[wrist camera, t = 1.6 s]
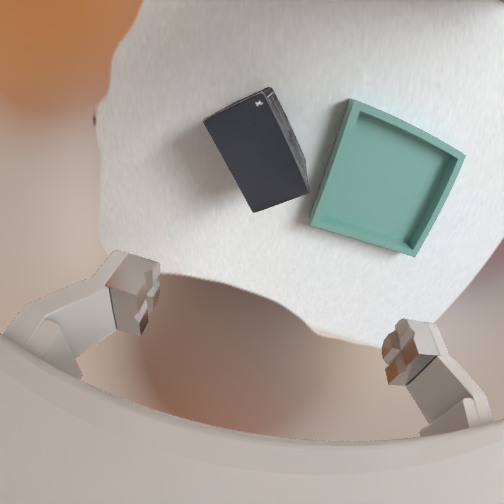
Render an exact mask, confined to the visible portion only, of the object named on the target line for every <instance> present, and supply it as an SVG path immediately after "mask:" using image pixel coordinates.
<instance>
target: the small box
mask: <svg viewBox="0 0 504 504" xmlns="http://www.w3.org/2000/svg"><path fill="white" fill-rule="evenodd" d="M203 123H204V125H205V126H206V128H207V130H208V132H209V133H210V135H211V137H212V139H213V140H214V142H215V144H216V146H217V148H218V149H219V151H220V153H221V155H222V157H223V158H224V160H225V162H226V164H227V166H228V167H229V169H230V171H231V173H232V175H233V177H234V178H235V180H236V182H237V184H238V186H239V188H240V190H241V191H242V193H243V195H244V197H245V199H246V201H247V203H248V205H249V207H250V208H251V210H252V212H253V213H255V212H258V211H261V210H264V209H267V208H269V207H272V206H275V205H278V204H281V203H283V202H286V201H289V200H292V199H294V198H297V197H300V196H302V195H305V194H308V193H309V192H310V189H309V186H308V181H307V173H306V162H305V161H306V160H305V158H304V155H303V153H302V150H301V148H300V146H299V144H298V142H297V139H296V136H295V135H294V133H293V130H292V128H291V126H290V124H289V122H288V119H287V117H286V115H285V113H284V111H283V109H282V106H281V105H280V103H279V101H278V99H277V97H276V95H275V93H274V91H273V89H272V88H270V87H268V88H265V89H263V90H262V91H259V92H257V93H255V94H252V95H250V96H248V97H246V98H244V99H242V100H239V101H237V102H235V103H233V104H232V105H230V106H228V107H226V108H224V109H222V110H220V111H218V112H216V113H215V114H213V115H211V116H209V117H207V118H205V119H204V120H203Z"/></svg>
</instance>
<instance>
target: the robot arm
mask: <svg viewBox="0 0 504 504" xmlns="http://www.w3.org/2000/svg"><path fill="white" fill-rule="evenodd" d="M503 1H504V0H503ZM159 274H160V264H159V262H156V261H153V260H149V259H146V258H143V257H140V256H136V255H133V254H129V253H126V252H122V251H119V250H116V251H113V252H112V253H111V255H110V256H109V257H108V258H107V259H106V261H105V262H104V263H103V264H102V265H101V267H100V268H99V269H98V270H97V272H96V273H95V274H94V275H93V277H92V278H91V279H90V280H86V279H85V280H83V281H80V282H78V283H76V284H73V285H71V286H68V287H66V288H64V289H61V290H59V291H57V292H54V293H52V294H50V295H47V296H45V297H43V298H40V299H38V300H36V301H34V302H31V303H29V304H27V305H25V306H24V307H23V308H22V309H21V311H20V312H19V313H18V315H17V316H16V317H15V318H14V320H13V321H12V322H11V324H10V325H9V326H8V328H7V329H6V331H5V332H4V333H3V335H2V334H0V504H504V419H501V420H498V421H495V422H493V418H492V414H491V411H490V407H489V404H488V401H487V398H486V395H485V394H484V393H483V391H482V390H481V389H480V388H479V387H478V386H477V384H476V383H475V382H474V381H473V380H472V379H471V378H470V377H469V375H468V374H467V373H466V372H465V371H464V370H463V369H462V368H461V366H460V365H459V364H458V363H457V362H456V361H455V360H454V359H453V358H452V357H449V354H448V352H447V349H446V346H445V344H444V342H443V339H442V337H441V334H440V332H439V329H438V327H437V326H436V325H435V324H434V323H429V322H421V321H415V320H409V319H404V318H403V319H401V320H399V321H398V323H397V324H396V325H395V331H393V332H392V333H390V334H388V336H387V337H386V338H385V340H384V342H383V346H382V356H383V359H384V361H385V362H386V363H387V366H386V369H385V371H386V375H387V380H388V384H389V385H403V386H406V387H407V389H408V391H409V392H410V394H411V395H412V397H413V399H414V400H415V402H416V403H417V405H418V407H419V408H420V410H421V411H422V413H423V415H424V416H425V418H426V420H427V421H428V423H429V425H427V426H426V427H424V428H423V429H421V431H420V437H413V438H404V439H392V440H375V441H325V440H306V439H295V438H285V437H276V436H268V435H261V434H254V433H248V432H242V431H236V430H232V429H226V428H222V427H217V426H212V425H208V424H204V423H200V422H195V421H192V420H188V419H184V418H181V417H177V416H174V415H170V414H166V413H164V412H160V411H157V410H154V409H151V408H148V407H145V406H142V405H139V404H136V403H134V402H131V401H128V400H126V399H123V398H121V397H118V396H115V395H113V394H111V393H108V392H106V391H103V390H101V389H99V388H96V387H94V386H92V385H90V384H88V383H85V382H83V381H81V380H80V379H81V377H82V373H81V370H80V368H79V366H78V364H77V362H76V360H75V358H77V357H78V356H79V355H81V354H82V353H84V352H85V351H87V350H88V349H90V348H91V347H93V346H94V345H96V344H97V343H99V342H100V341H102V340H103V339H105V338H106V337H108V336H109V335H111V334H112V333H114V332H115V331H116V329H118V330H121V331H124V332H127V333H130V334H133V335H136V336H140V337H141V336H142V334H143V332H144V330H145V328H146V325H147V324H148V314H149V313H151V312H153V311H154V309H155V307H156V305H157V302H158V298H159V294H160V282H159V281H158V280H157V278H158V276H159Z"/></svg>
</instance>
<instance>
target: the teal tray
mask: <svg viewBox="0 0 504 504" xmlns="http://www.w3.org/2000/svg"><path fill="white" fill-rule="evenodd" d="M465 156H466V155H464V154H463V153H461V152H460V151H458V150H456V149H455V148H453V147H451V146H450V145H448V144H446V143H445V142H443V141H441V140H439V139H438V138H436V137H434V136H432V135H430V134H428V133H427V132H425V131H423V130H421V129H419V128H417V127H415V126H413V125H411V124H409V123H407V122H405V121H403V120H401V119H399V118H396V117H394V116H392V115H390V114H388V113H385V112H383V111H381V110H378V109H376V108H374V107H371V106H369V105H366V104H364V103H361V102H359V101H356V100H353V99H349V102H348V105H347V108H346V111H345V115H344V118H343V121H342V124H341V127H340V130H339V133H338V136H337V139H336V142H335V145H334V148H333V151H332V154H331V157H330V160H329V163H328V166H327V168H326V171H325V174H324V177H323V180H322V183H321V185H320V188H319V191H318V194H317V197H316V199H315V202H314V205H313V208H312V210H311V213H310V216H309V218H310V226H313V227H317V228H321V229H324V230H328V231H331V232H334V233H338V234H341V235H345V236H348V237H351V238H355V239H358V240H361V241H365V242H368V243H371V244H374V245H378V246H381V247H384V248H387V249H390V250H394V251H397V252H400V253H403V254H406V255H409V256H412V257H415V256H416V254H417V253H418V251H419V249H420V248H421V246H422V244H423V243H424V241H425V239H426V237H427V235H428V234H429V232H430V230H431V228H432V226H433V224H434V223H435V221H436V219H437V217H438V215H439V213H440V211H441V209H442V207H443V205H444V203H445V201H446V199H447V197H448V195H449V193H450V191H451V189H452V186H453V184H454V182H455V180H456V178H457V175H458V173H459V171H460V168H461V166H462V164H463V161H464V159H465Z"/></svg>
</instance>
